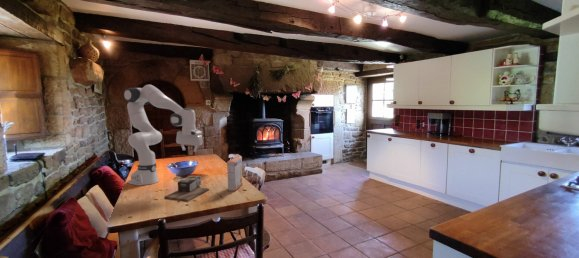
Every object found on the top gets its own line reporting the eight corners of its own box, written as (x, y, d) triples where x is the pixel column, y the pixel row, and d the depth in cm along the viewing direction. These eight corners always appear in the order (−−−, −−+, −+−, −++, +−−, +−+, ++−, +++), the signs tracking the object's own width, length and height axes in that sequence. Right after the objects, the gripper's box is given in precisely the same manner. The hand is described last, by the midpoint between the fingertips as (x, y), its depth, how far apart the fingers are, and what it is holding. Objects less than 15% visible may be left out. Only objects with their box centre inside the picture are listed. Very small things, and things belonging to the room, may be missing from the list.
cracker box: (234, 184, 203) (234, 157, 201) (242, 185, 202) (242, 157, 200) (227, 191, 189) (226, 161, 187) (235, 191, 188) (235, 161, 186)
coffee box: (201, 176, 199) (189, 182, 183) (201, 184, 200) (190, 192, 184) (189, 175, 200) (177, 181, 184) (190, 183, 201) (177, 191, 185)
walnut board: (164, 198, 175) (164, 196, 175) (187, 187, 196) (187, 186, 196) (188, 201, 170) (188, 199, 170) (209, 190, 191) (208, 188, 191)
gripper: (173, 131, 192) (174, 150, 194) (198, 133, 186) (198, 153, 187) (180, 130, 198) (180, 148, 200) (204, 131, 192) (204, 151, 193)
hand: (189, 150), depth 193 cm, fingers open, 8 cm apart
